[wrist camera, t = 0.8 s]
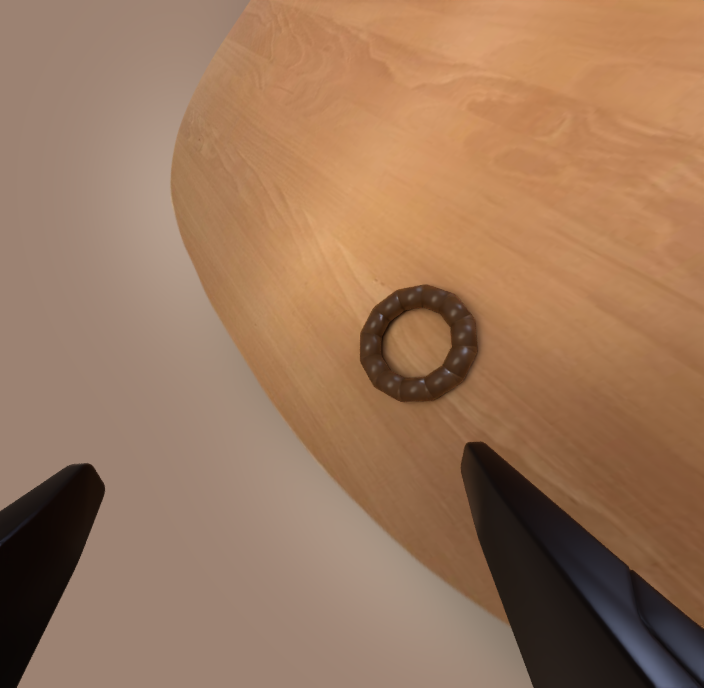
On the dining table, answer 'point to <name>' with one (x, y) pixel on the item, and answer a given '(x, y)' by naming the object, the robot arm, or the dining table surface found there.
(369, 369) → the ring
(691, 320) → the dining table surface
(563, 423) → the dining table surface
